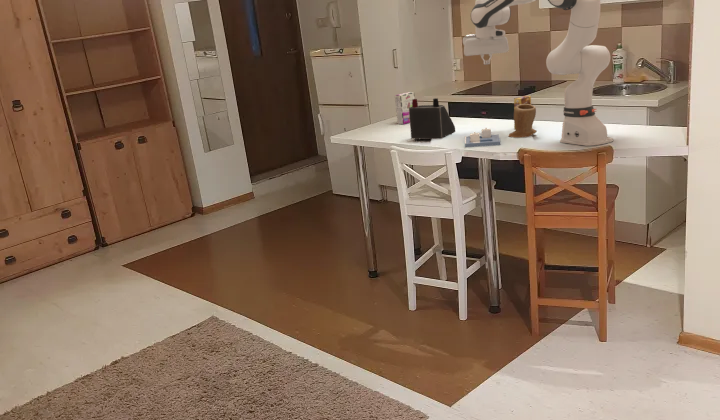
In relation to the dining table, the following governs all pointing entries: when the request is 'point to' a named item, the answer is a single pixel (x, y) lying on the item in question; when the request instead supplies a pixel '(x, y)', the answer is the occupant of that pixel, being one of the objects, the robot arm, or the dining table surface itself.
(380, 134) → the dining table surface
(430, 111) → the voltmeter
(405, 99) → the candy bar box
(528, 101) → the candy box
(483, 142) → the switch bank
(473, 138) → the tab
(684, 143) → the dining table surface
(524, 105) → the brown hollow flared piece
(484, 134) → the tab
